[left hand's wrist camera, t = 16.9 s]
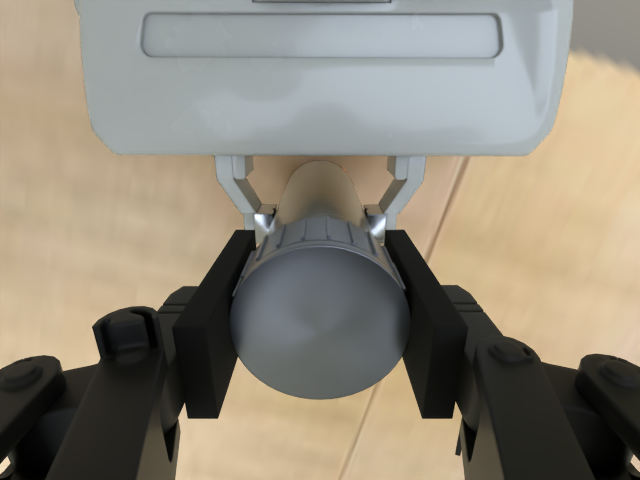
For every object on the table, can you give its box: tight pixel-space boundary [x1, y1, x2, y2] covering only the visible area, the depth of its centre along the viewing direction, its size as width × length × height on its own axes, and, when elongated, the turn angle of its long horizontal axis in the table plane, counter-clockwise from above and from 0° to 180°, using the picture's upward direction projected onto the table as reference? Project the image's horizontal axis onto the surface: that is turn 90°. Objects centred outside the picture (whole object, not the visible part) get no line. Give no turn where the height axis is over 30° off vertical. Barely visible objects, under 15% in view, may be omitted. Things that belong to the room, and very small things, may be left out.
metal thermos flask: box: [267, 160, 374, 237], centre depth 18 cm, size 5×5×16 cm
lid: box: [229, 216, 411, 400], centre depth 11 cm, size 5×5×2 cm
